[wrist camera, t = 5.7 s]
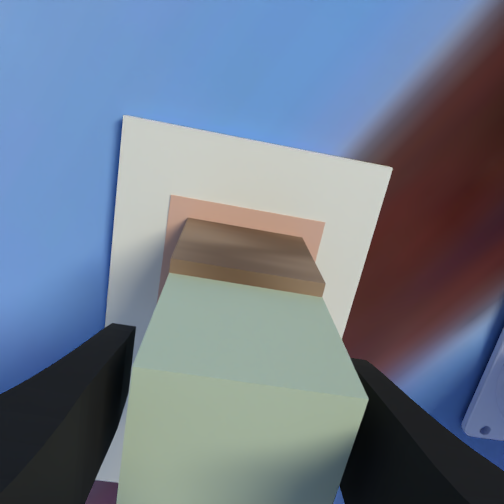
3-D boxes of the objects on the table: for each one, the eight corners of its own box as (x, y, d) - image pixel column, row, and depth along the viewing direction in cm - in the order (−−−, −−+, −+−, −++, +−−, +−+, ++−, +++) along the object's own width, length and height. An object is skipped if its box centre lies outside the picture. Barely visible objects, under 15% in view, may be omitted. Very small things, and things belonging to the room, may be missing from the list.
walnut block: (302, 237, 16) (325, 283, 12) (278, 336, 18) (291, 408, 14) (187, 217, 16) (170, 258, 12) (173, 320, 17) (152, 390, 13)
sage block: (322, 297, 12) (368, 399, 8) (289, 419, 14) (313, 561, 9) (169, 272, 12) (132, 366, 8) (151, 402, 13) (111, 541, 9)
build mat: (389, 166, 16) (393, 168, 16) (292, 494, 21) (293, 502, 21) (126, 115, 15) (122, 115, 15) (94, 472, 20) (91, 480, 20)
